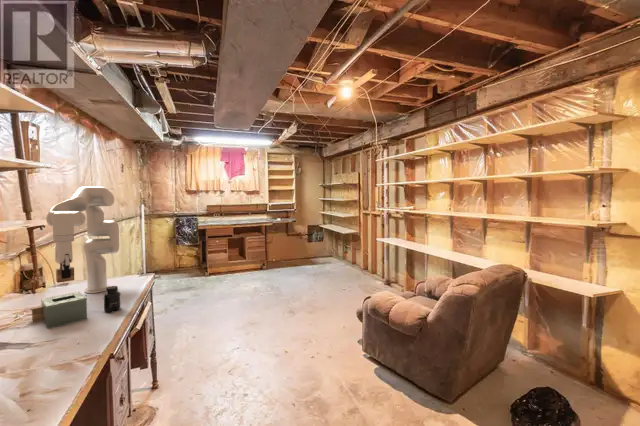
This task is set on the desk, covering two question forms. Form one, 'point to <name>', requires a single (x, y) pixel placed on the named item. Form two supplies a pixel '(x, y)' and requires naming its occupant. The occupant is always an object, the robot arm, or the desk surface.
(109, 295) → the supplement bottle
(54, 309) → the box
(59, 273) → the block
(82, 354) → the desk surface
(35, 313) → the token
